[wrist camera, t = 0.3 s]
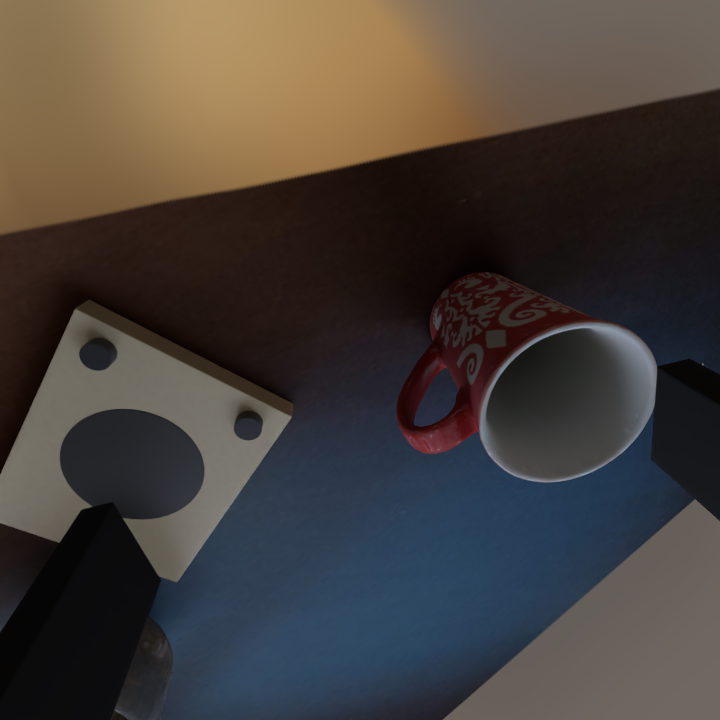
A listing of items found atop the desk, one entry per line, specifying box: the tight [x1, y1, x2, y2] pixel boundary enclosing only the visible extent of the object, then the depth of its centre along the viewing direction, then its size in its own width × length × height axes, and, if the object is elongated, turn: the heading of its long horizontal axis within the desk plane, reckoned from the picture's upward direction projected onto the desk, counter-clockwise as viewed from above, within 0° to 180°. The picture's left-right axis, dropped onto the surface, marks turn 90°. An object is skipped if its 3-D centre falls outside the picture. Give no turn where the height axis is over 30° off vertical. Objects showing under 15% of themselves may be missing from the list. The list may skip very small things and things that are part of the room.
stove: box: [0, 300, 293, 582], centre depth 34 cm, size 20×16×3 cm
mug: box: [396, 272, 657, 482], centre depth 28 cm, size 13×9×14 cm
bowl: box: [111, 616, 173, 720], centre depth 39 cm, size 14×15×10 cm
